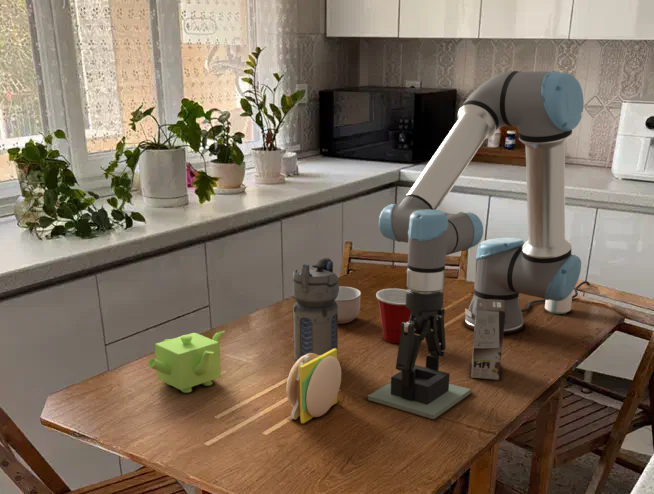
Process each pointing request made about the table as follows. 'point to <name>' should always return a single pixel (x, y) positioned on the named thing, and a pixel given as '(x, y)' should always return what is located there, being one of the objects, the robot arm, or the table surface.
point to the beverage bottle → (315, 309)
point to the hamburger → (313, 385)
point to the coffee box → (488, 338)
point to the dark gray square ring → (423, 384)
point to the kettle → (188, 360)
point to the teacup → (348, 304)
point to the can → (559, 305)
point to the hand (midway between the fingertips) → (419, 391)
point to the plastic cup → (392, 312)
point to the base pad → (419, 408)
